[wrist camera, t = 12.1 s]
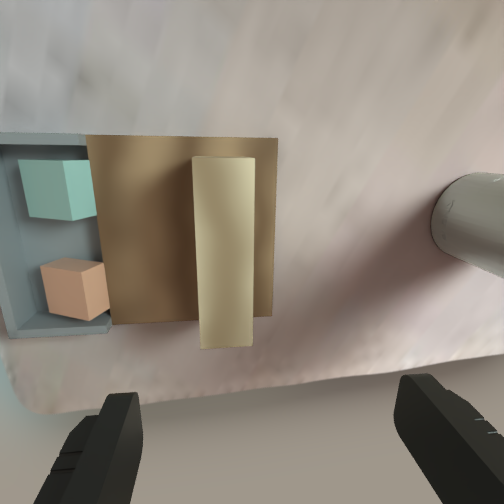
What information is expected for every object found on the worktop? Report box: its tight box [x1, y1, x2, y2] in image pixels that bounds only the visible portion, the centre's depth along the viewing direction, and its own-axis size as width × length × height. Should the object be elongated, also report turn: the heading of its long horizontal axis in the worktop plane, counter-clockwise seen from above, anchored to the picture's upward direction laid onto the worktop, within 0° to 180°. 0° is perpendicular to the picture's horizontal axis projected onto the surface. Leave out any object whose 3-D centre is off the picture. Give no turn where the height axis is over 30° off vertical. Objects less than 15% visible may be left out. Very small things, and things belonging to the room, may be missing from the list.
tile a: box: [18, 159, 97, 221], centre depth 25 cm, size 4×4×2 cm
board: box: [85, 135, 278, 325], centre depth 29 cm, size 16×17×2 cm
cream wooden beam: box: [192, 156, 255, 349], centre depth 25 cm, size 4×14×7 cm, turn 179°
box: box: [0, 132, 112, 339], centre depth 27 cm, size 8×17×4 cm, turn 179°
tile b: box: [40, 257, 110, 321], centre depth 28 cm, size 4×4×2 cm
